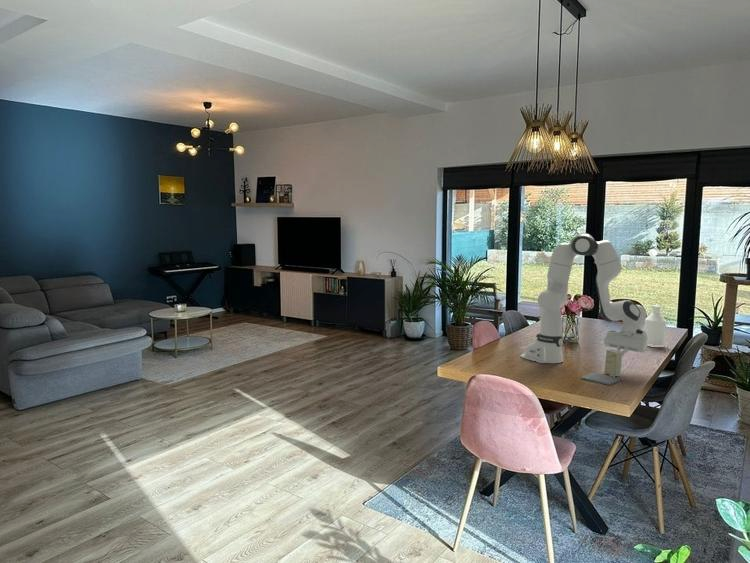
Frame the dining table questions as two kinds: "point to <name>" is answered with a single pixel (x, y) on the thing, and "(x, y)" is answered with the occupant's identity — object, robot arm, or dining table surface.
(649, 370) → the dining table surface
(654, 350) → the dining table surface
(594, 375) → the mat
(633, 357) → the dining table surface
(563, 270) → the robot arm
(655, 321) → the bottle
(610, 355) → the skincare box
